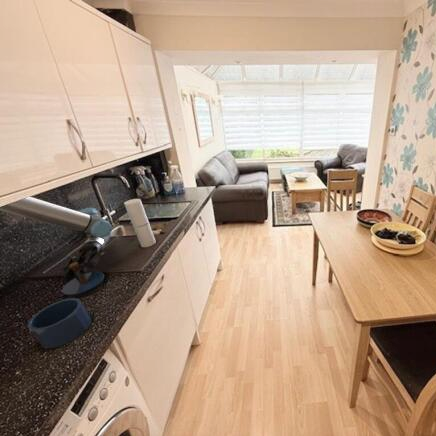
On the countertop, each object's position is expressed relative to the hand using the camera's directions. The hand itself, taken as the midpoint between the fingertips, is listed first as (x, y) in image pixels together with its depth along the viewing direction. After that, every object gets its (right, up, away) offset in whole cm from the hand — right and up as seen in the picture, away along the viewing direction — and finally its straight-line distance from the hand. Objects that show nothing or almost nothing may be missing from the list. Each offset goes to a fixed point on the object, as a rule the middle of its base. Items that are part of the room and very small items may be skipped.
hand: (71, 278), depth 90 cm
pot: (+9, -15, -11) cm, 21 cm away
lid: (-1, -4, +8) cm, 9 cm away
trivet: (-1, -6, +9) cm, 11 cm away
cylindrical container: (+7, +8, +38) cm, 40 cm away
